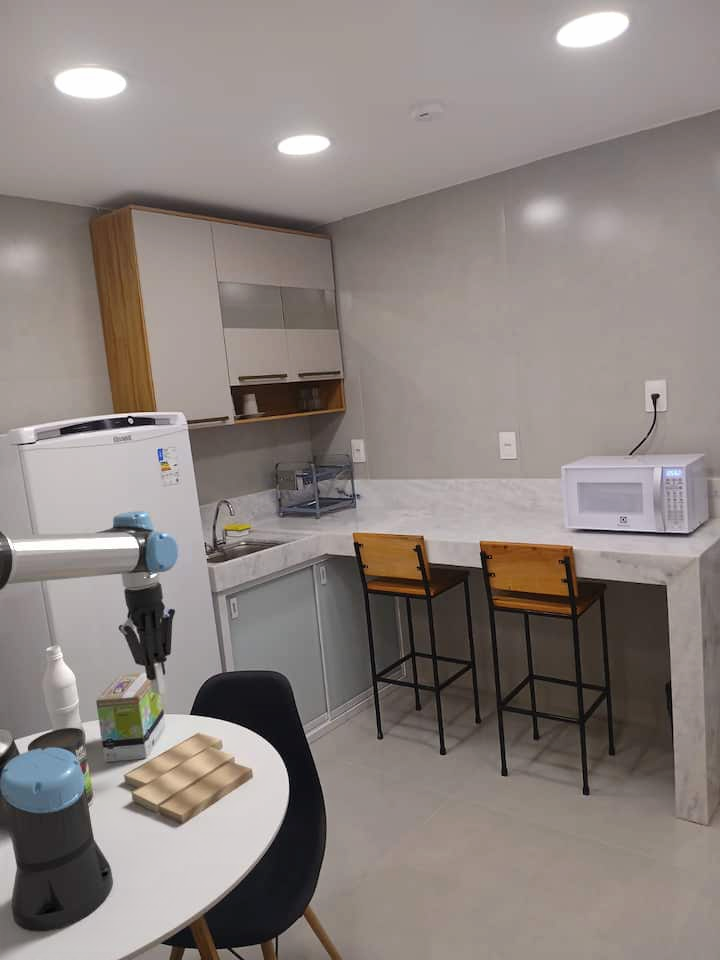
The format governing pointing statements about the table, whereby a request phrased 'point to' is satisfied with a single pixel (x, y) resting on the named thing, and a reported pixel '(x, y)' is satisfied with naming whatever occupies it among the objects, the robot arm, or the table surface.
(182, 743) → the plank
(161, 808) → the laid board
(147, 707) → the tea box
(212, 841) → the table surface
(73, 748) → the coffee can
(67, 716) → the water bottle
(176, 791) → the plank
